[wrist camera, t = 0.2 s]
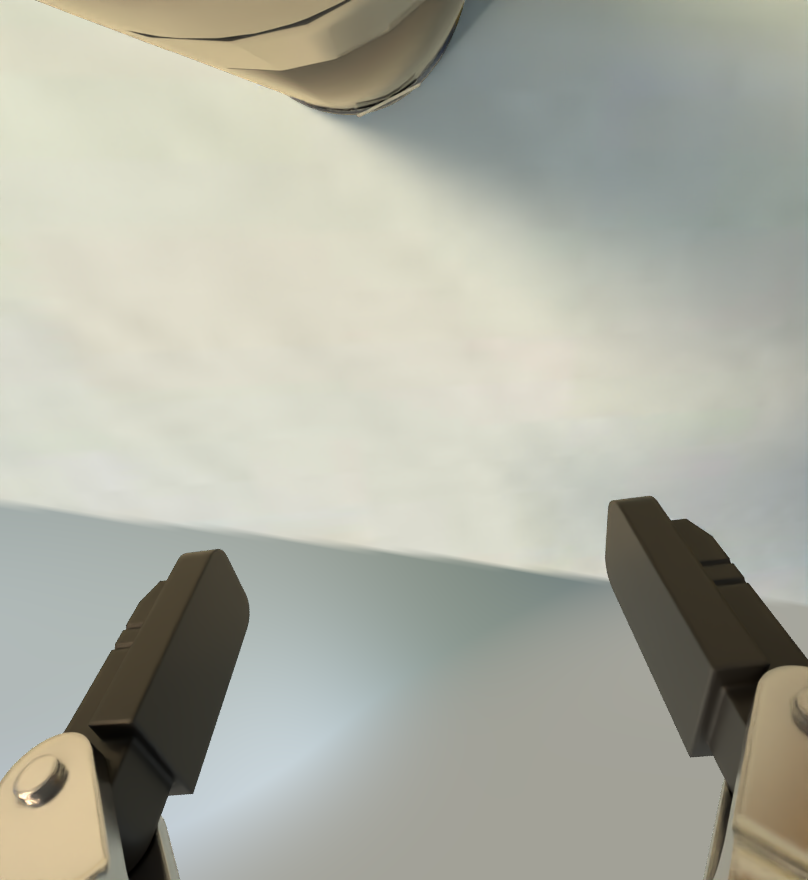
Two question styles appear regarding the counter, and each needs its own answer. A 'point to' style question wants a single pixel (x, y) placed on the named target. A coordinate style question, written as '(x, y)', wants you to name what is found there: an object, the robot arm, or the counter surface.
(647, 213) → the counter surface
